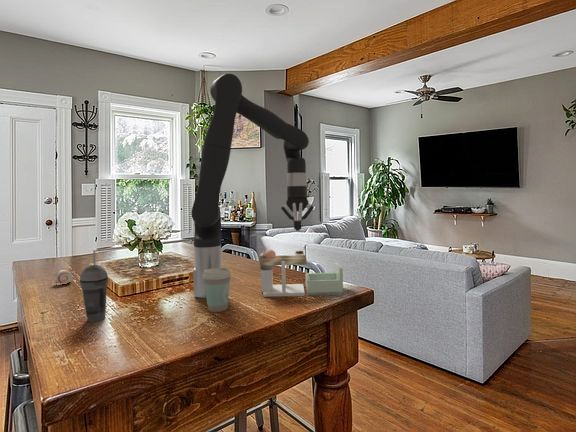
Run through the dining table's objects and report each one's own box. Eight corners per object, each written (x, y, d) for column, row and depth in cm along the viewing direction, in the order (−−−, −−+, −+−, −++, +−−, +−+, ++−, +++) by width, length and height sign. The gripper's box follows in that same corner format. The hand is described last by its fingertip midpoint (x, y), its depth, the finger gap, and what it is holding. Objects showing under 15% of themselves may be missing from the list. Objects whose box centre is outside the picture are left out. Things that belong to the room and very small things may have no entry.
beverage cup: (103, 313, 109) (100, 247, 108) (115, 318, 105) (111, 249, 103) (77, 320, 104) (73, 250, 102) (88, 325, 99) (84, 252, 98)
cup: (307, 295, 123) (307, 269, 122) (305, 286, 135) (305, 262, 134) (343, 294, 123) (342, 268, 122) (338, 285, 135) (337, 261, 134)
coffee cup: (226, 314, 106) (224, 273, 105) (198, 312, 107) (197, 272, 107) (236, 305, 114) (234, 267, 113) (210, 304, 116) (209, 266, 115)
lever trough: (260, 270, 125) (259, 255, 125) (262, 262, 138) (262, 249, 138) (306, 269, 125) (306, 254, 125) (304, 261, 138) (304, 248, 138)
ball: (264, 262, 126) (263, 250, 126) (264, 260, 130) (264, 249, 130) (275, 261, 126) (275, 250, 126) (276, 259, 130) (275, 248, 130)
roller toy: (53, 284, 147) (52, 270, 147) (71, 282, 152) (70, 268, 151) (55, 286, 144) (55, 272, 144) (74, 283, 148) (73, 269, 148)
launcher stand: (260, 296, 123) (259, 263, 122) (262, 287, 135) (261, 256, 134) (304, 295, 123) (303, 262, 122) (303, 286, 135) (302, 255, 134)
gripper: (279, 185, 134) (280, 232, 136) (315, 184, 135) (315, 231, 136) (279, 185, 142) (280, 230, 143) (313, 185, 142) (314, 229, 143)
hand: (297, 230), depth 139 cm, fingers closed
